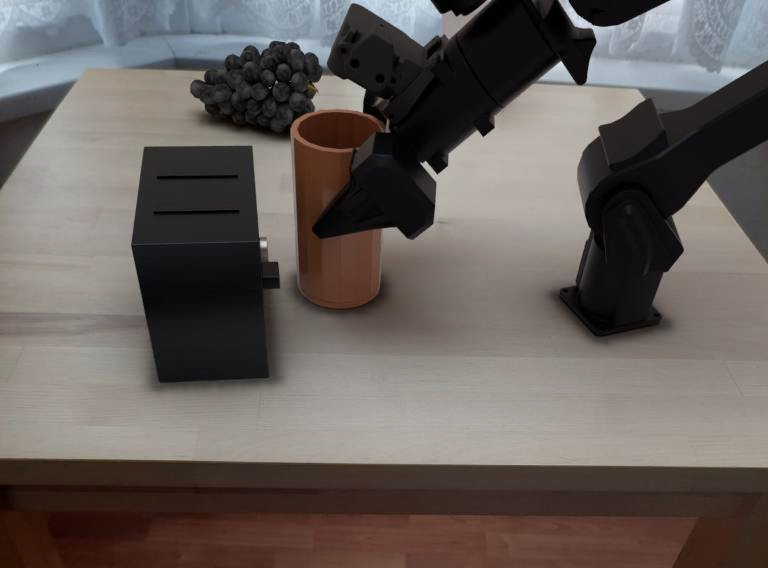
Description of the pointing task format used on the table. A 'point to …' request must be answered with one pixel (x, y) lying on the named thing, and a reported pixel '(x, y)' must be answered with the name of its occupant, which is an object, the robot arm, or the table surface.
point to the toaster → (202, 262)
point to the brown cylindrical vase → (314, 194)
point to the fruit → (262, 86)
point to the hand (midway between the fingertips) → (321, 209)
